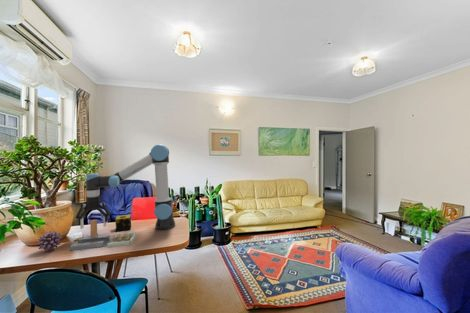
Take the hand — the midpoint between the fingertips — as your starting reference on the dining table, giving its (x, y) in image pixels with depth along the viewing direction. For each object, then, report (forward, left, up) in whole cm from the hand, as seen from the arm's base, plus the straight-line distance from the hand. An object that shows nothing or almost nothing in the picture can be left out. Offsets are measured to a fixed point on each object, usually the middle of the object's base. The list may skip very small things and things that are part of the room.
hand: (93, 227), depth 143 cm
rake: (0, 0, -8) cm, 8 cm away
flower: (+19, +12, -8) cm, 24 cm away
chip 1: (-18, +12, -8) cm, 23 cm away
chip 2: (-22, +12, -8) cm, 26 cm away
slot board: (-4, +12, -8) cm, 15 cm away
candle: (-15, -16, -8) cm, 24 cm away
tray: (-20, +12, -8) cm, 25 cm away
